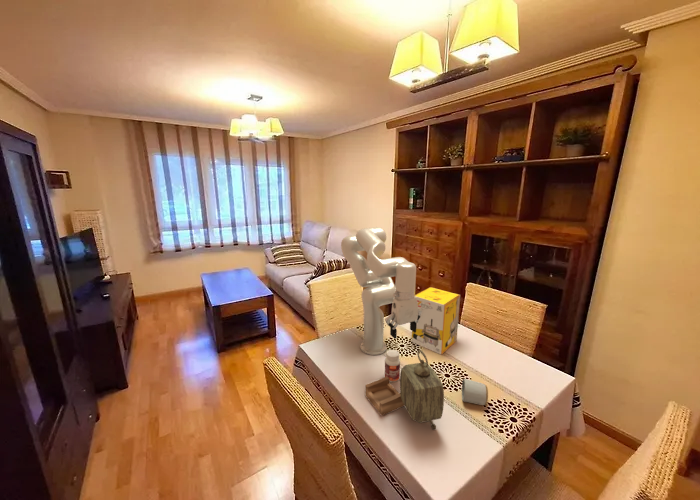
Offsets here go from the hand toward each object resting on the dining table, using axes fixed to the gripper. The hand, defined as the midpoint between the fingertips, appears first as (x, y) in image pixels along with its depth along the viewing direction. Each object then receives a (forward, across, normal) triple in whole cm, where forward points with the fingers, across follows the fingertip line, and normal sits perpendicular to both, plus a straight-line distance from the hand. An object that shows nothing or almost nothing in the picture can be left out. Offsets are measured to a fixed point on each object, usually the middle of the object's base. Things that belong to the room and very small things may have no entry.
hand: (403, 333), depth 112 cm
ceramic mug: (+20, +16, -22) cm, 34 cm away
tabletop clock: (+20, -8, -20) cm, 29 cm away
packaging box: (+20, +31, +14) cm, 39 cm away
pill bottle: (+20, -4, +1) cm, 20 cm away
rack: (+20, -14, -8) cm, 25 cm away
